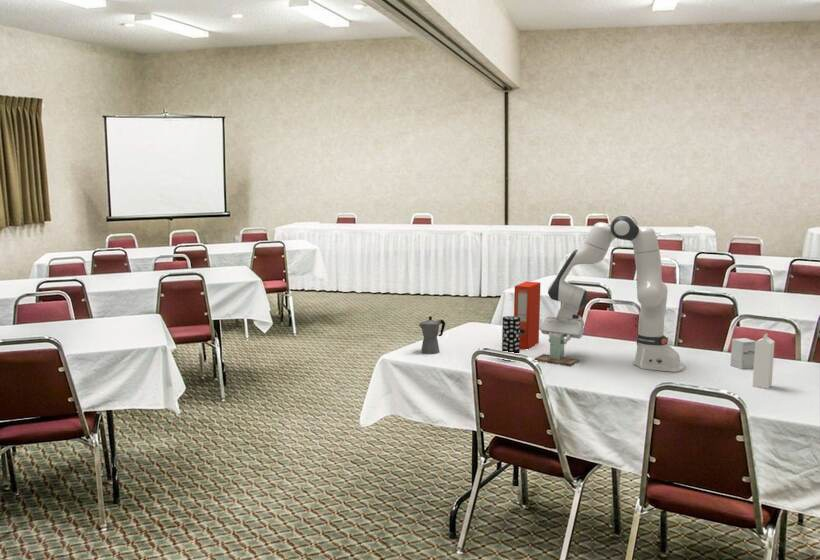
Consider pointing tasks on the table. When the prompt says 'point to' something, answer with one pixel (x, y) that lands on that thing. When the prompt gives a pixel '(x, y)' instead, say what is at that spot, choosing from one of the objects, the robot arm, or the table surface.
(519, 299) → the file binder
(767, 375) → the milk
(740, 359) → the supplement box
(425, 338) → the coffeepot
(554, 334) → the tea tin
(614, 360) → the table surface
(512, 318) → the spotted tube
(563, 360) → the board
